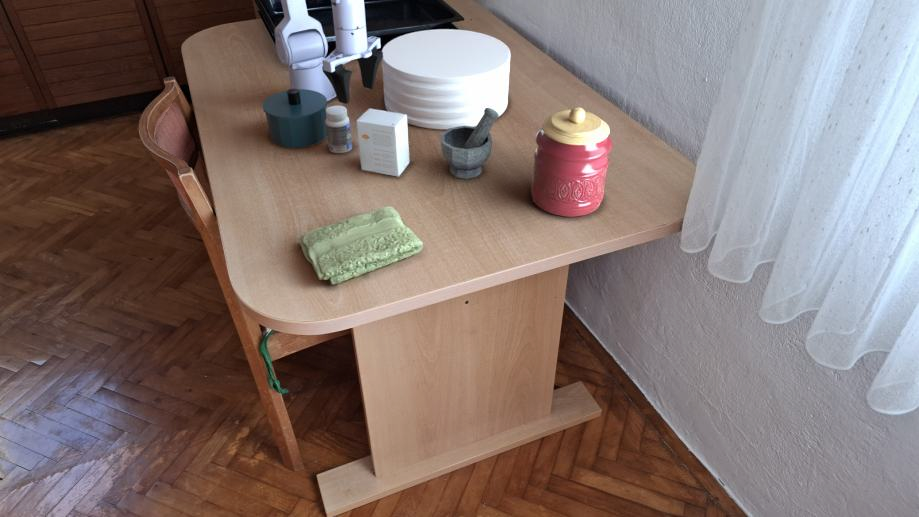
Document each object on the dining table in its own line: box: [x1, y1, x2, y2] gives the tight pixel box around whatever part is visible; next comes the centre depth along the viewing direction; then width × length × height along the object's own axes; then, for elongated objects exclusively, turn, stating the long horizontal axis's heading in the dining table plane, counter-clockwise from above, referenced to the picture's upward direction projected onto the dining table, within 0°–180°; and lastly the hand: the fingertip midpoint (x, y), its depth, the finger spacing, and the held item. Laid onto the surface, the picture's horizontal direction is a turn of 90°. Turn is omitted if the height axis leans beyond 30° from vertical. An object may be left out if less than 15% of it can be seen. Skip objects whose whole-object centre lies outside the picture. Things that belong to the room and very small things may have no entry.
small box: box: [355, 107, 411, 178], centre depth 123 cm, size 8×6×10 cm
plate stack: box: [381, 28, 512, 130], centre depth 146 cm, size 28×28×12 cm
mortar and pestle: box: [440, 108, 500, 179], centre depth 122 cm, size 11×9×12 cm
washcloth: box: [297, 205, 424, 286], centre depth 105 cm, size 13×18×3 cm
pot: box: [265, 106, 327, 149], centre depth 135 cm, size 12×12×6 cm
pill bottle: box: [325, 105, 353, 154], centre depth 129 cm, size 5×5×8 cm
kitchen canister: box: [530, 106, 613, 218], centre depth 113 cm, size 13×13×18 cm
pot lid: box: [261, 88, 328, 119], centre depth 132 cm, size 13×13×4 cm
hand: (356, 94), depth 127 cm, fingers open, 7 cm apart
